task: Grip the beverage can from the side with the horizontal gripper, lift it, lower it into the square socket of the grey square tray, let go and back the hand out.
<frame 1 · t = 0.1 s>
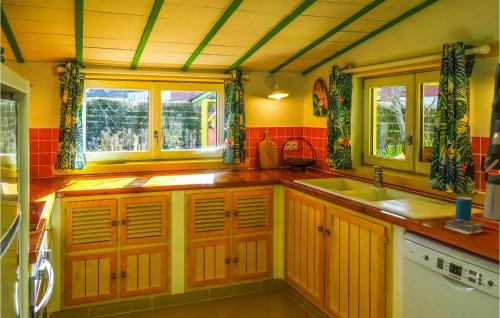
hand: (498, 182, 182), 22 cm above the worktop, tool pointing down, fingers open, 8 cm apart
grey square tray: (463, 229, 191), on the worktop
beverage can: (462, 223, 202), on the worktop
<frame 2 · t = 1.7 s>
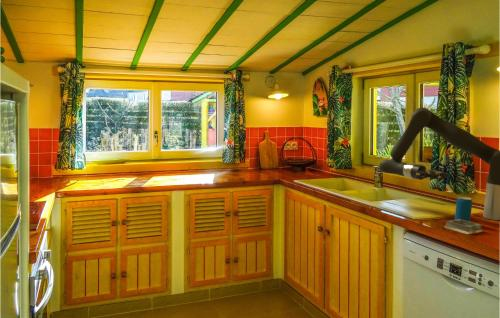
hand: (443, 176, 210), 20 cm above the worktop, tool horizontal, fingers open, 8 cm apart
nothing on the worktop moved.
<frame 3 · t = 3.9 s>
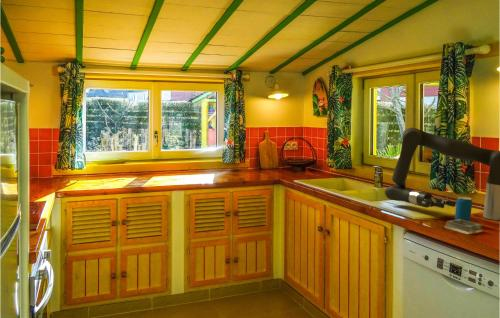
hand: (449, 205, 207), 7 cm above the worktop, tool horizontal, fingers open, 8 cm apart
nothing on the worktop moved.
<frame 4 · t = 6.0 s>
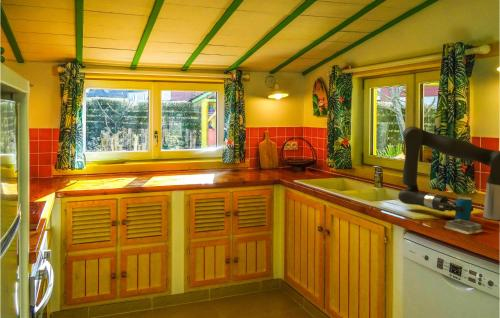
hand: (468, 209, 199), 7 cm above the worktop, tool horizontal, fingers closed on beverage can, 6 cm apart
beverage can: (462, 223, 202), on the worktop, touching gripper
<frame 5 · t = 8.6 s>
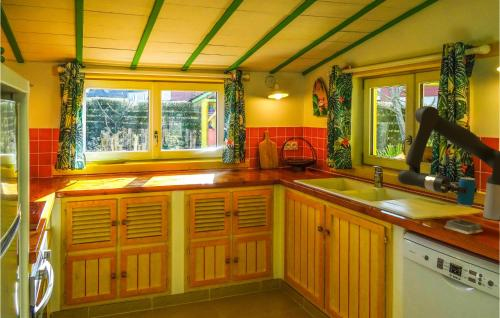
hand: (471, 190, 187), 18 cm above the worktop, tool horizontal, fingers closed on beverage can, 6 cm apart
beverage can: (464, 205, 190), point 10 cm above the worktop, touching gripper
when the fingers open (9 cm above the worktop, at t = 11.3 s): beverage can drops 1 cm, resting on grey square tray.
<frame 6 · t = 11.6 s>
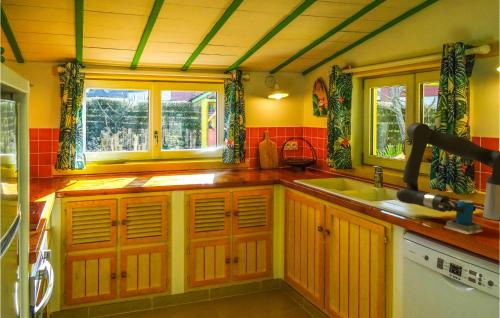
hand: (469, 209, 188), 9 cm above the worktop, tool horizontal, fingers open, 8 cm apart
beverage can: (463, 228, 191), point 1 cm above the worktop, touching grey square tray
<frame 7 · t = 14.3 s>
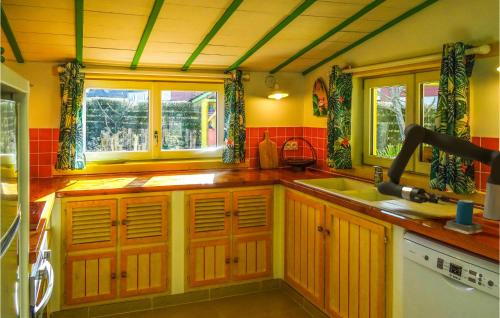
hand: (443, 200, 200), 10 cm above the worktop, tool horizontal, fingers open, 8 cm apart
nothing on the worktop moved.
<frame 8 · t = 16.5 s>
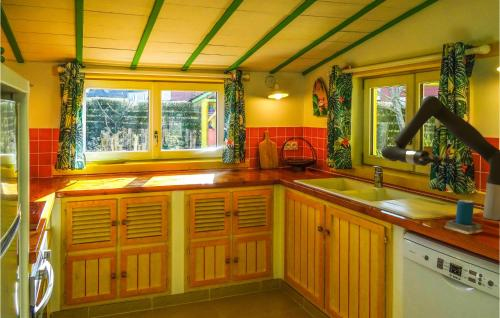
hand: (446, 161, 204), 28 cm above the worktop, tool horizontal, fingers open, 8 cm apart
nothing on the worktop moved.
at the end: beverage can 0.2 cm off-centre on the grey square tray, point 0.6 cm above the grey square tray's base; beverage can tilted 0°; the gripper is holding nothing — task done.
